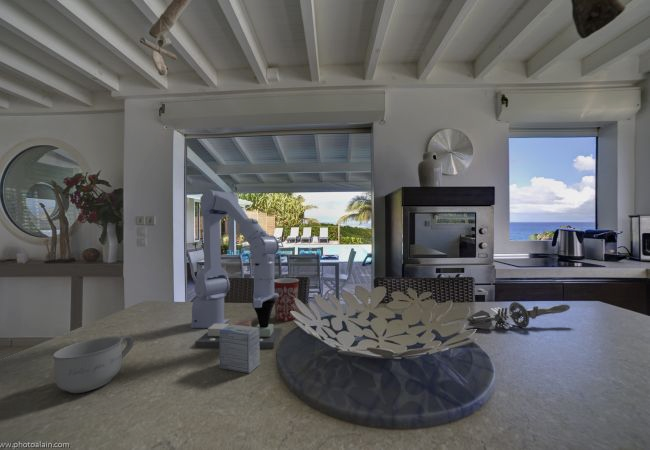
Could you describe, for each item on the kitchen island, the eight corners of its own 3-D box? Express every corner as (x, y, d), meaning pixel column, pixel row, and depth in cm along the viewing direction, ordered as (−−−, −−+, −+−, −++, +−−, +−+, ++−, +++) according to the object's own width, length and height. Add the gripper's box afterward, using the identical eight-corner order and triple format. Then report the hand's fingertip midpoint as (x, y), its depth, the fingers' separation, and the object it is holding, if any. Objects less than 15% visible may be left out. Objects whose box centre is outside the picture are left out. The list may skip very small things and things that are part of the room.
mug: (299, 321, 97) (299, 281, 97) (272, 322, 96) (272, 282, 96) (298, 311, 109) (298, 276, 110) (274, 312, 108) (274, 276, 109)
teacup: (64, 407, 50) (64, 361, 50) (43, 389, 56) (44, 348, 56) (148, 373, 62) (148, 336, 62) (124, 361, 68) (124, 327, 68)
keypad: (195, 347, 76) (195, 340, 76) (213, 332, 87) (213, 326, 87) (273, 348, 75) (273, 341, 75) (281, 333, 86) (281, 327, 86)
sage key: (254, 336, 79) (254, 329, 79) (258, 330, 83) (258, 323, 83) (270, 336, 78) (270, 329, 78) (273, 331, 83) (273, 324, 83)
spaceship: (584, 304, 88) (561, 289, 95) (477, 320, 84) (461, 304, 92) (577, 325, 90) (555, 309, 98) (473, 341, 87) (459, 323, 94)
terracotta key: (230, 332, 79) (230, 325, 79) (236, 327, 83) (236, 320, 83) (246, 333, 79) (246, 325, 79) (251, 327, 83) (251, 320, 83)
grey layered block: (260, 365, 66) (260, 327, 66) (249, 374, 61) (249, 333, 62) (231, 360, 68) (231, 323, 68) (218, 368, 64) (218, 329, 64)
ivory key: (207, 336, 79) (207, 328, 79) (214, 330, 83) (214, 323, 84) (223, 336, 79) (223, 328, 79) (229, 330, 83) (229, 323, 83)
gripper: (272, 283, 74) (272, 336, 73) (282, 274, 88) (282, 318, 88) (245, 283, 74) (245, 336, 74) (260, 274, 88) (260, 318, 88)
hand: (264, 326), depth 81 cm, fingers closed, pressing on sage key
